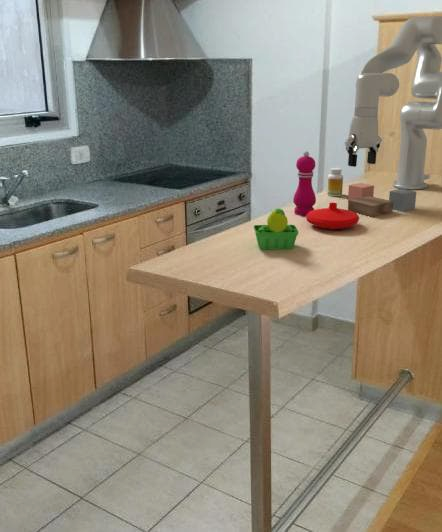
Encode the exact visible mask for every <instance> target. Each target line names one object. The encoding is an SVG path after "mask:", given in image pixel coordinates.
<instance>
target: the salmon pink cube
mask: <svg viewBox="0 0 442 532" xmlns="http://www.w3.org/2000/svg"><path fill="white" fill-rule="evenodd" d="M374 193H375V185H374V184H368V183H365V182H357V183H352V184H349V185H348V193H347V194H348V196H347V201H348V200H353V199H357V198H362V197H367V196H372V197H374Z"/></svg>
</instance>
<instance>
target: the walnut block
mask: <svg viewBox="0 0 442 532" xmlns="http://www.w3.org/2000/svg"><path fill="white" fill-rule="evenodd" d="M347 210H349V211H353V212H355V213H356V214H357V213H358V214H357V215H360V214H361V216H364V215H365V216H364V217H368V216H369V218H374V217H378V216H383V215H387V214H392V213H393V212H394V210H393V201H389V199H384V198H379V197H375V196H373V197H372V196H367V197H362V198H357V199H353V200H348V199H347Z"/></svg>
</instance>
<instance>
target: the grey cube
mask: <svg viewBox="0 0 442 532" xmlns="http://www.w3.org/2000/svg"><path fill="white" fill-rule="evenodd" d="M388 200H389V201H393V211H396V210H397V212H401V213H405V212H409V211H414V210H416V200H417V191H415V190H412V189H401V188H397V189H394V190H390V191H389V196H388Z"/></svg>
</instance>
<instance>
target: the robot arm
mask: <svg viewBox="0 0 442 532" xmlns="http://www.w3.org/2000/svg"><path fill="white" fill-rule="evenodd" d="M436 45H442V16H439V15H438V16H436V15H432V16H428V15H427V16H416V17H415V16H414V17H410V18H409V19H407V20H406V21H405V22H403V25H402V26H401V28H400V30H399V31H398V32H397V34H396V36H395V37H394V39H393V40H392V42H391V43H390V46H389V47H387V48H385V49H383V50H382V51H381V52H379V53H378V54H375V56H373V57H372V58H370V59H369V60H368V61H367V62H366V63H365V64H364V66H363V67H362V68H361V70H360V72H359V74H358V76H357V78H356V82H355V100H354V101H355V102H354V115H353V117H352V119H351V122H350V126H349V132H348V138H347V139H345V141H344V146H345V150H346V151H347V155H348V158H347V161H348V162H347V166H348V167H353V168H355V167H357V162H358V154H357V153H358V151H359V149H367V148H368V152H367V159H366V160H367V161H366V163H367V164H370V165H376V162H377V161H376V160H377V153H378V151H379V148H380V146H381V143H382V141H383V139H382V137H380V135H379V118H378V116H379V115H378V114H379V102H380V97H381V98H382V97H383V98H386V97H391V96H394V95H396V93H397V92H398V90H399V89H400V80H399V78H398V76H397V75H395V74H394V73H389V72H388V71H390V70H393V69H396V68H400V67H403V66H404V65H406V64H408V63H410V62H411V59H412V58H413V56H414V55H415V54H417V59H416V60H417V62H416V65H415V70H414V75H413V77H412V78H413V79H412V83H411V87H410V93H411V95H412V97H414V98H416V99H421V100H422V99H423V100H424V99H425V100H436V101H435V102H433V101H431V102H429V101H417V100H414V101H408V102H407V103H404V105H402V107H401V109H400V113H399V118H400V119H399V120H400V142H399V143H400V145H399V156H398V158H399V159H398V165H397V166H398V167H397V179H396V181H393V182H392V186H393V187H395V188H397V189H406V190H423V189H426V188H427V187H428V183H426V182H425V180H428V179H430V177H431V176H430V174H429V173H425V164H426V156H427V155H426V154H427V147H428V145H427V144H428V139H427V135H426V133H425V130H436V131H437V130H442V71H441V65H442V55H441V52H440V51H439V49H438V47H437V46H436ZM424 129H425V130H424Z"/></svg>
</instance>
